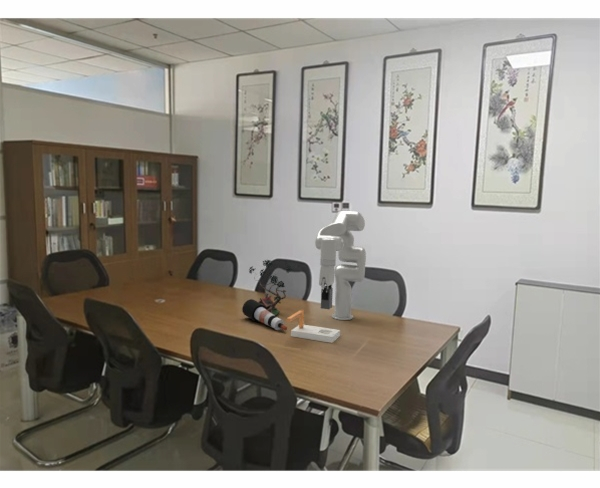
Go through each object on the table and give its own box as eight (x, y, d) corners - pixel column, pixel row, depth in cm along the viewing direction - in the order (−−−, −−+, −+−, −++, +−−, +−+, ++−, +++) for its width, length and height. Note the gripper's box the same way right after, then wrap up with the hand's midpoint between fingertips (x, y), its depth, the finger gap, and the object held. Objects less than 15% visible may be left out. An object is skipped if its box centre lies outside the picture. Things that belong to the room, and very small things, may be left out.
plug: (323, 306, 236) (324, 286, 235) (332, 307, 235) (332, 287, 233) (320, 308, 232) (321, 288, 231) (329, 309, 231) (329, 289, 229)
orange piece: (300, 326, 242) (300, 309, 240) (304, 327, 241) (304, 310, 240) (286, 336, 226) (286, 318, 225) (290, 336, 225) (290, 318, 224)
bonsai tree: (300, 311, 285) (301, 260, 281) (273, 320, 266) (274, 265, 262) (258, 301, 307) (259, 254, 302) (231, 308, 288) (231, 258, 284)
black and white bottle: (281, 341, 244) (275, 327, 239) (245, 319, 269) (239, 305, 265) (295, 330, 249) (289, 315, 244) (259, 309, 274) (253, 295, 269)
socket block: (300, 331, 247) (300, 324, 247) (339, 337, 239) (340, 330, 238) (290, 338, 236) (291, 330, 236) (332, 344, 228) (332, 336, 227)
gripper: (326, 259, 240) (325, 294, 242) (314, 264, 224) (313, 301, 227) (340, 260, 237) (339, 296, 239) (329, 265, 221) (328, 303, 224)
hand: (326, 298), depth 233 cm, fingers closed on plug, 4 cm apart
